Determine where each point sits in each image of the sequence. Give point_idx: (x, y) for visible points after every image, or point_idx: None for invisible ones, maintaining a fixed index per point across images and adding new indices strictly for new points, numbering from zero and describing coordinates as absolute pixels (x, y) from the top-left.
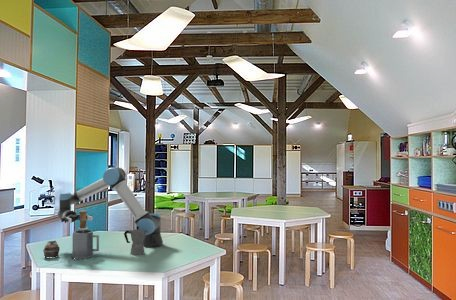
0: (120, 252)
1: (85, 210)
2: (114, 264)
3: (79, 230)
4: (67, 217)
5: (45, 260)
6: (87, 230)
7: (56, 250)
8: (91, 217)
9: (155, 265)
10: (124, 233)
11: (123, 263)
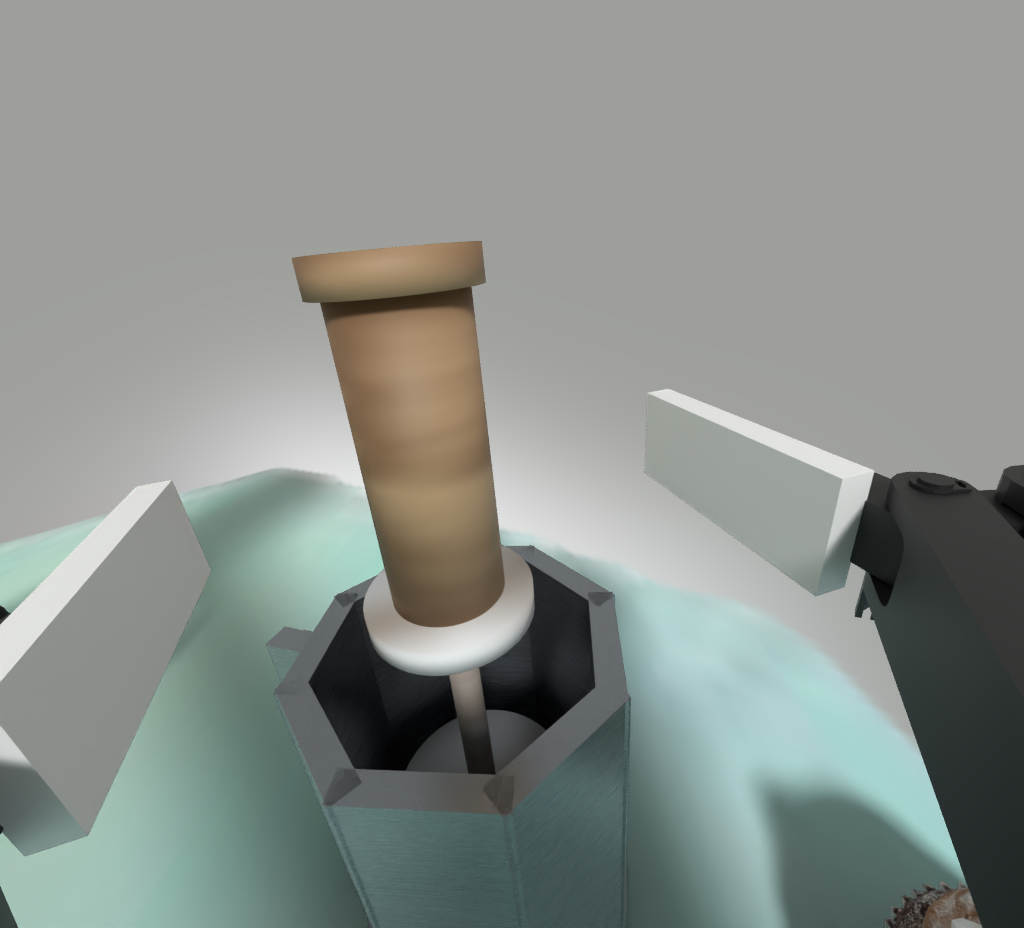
0: (33, 923)
1: (310, 256)
2: (358, 563)
3: (500, 797)
4: (923, 532)
5: (925, 844)
6: (343, 750)
7: (886, 920)
8: (173, 500)
9: (226, 517)
10: (5, 612)
11: (310, 566)
